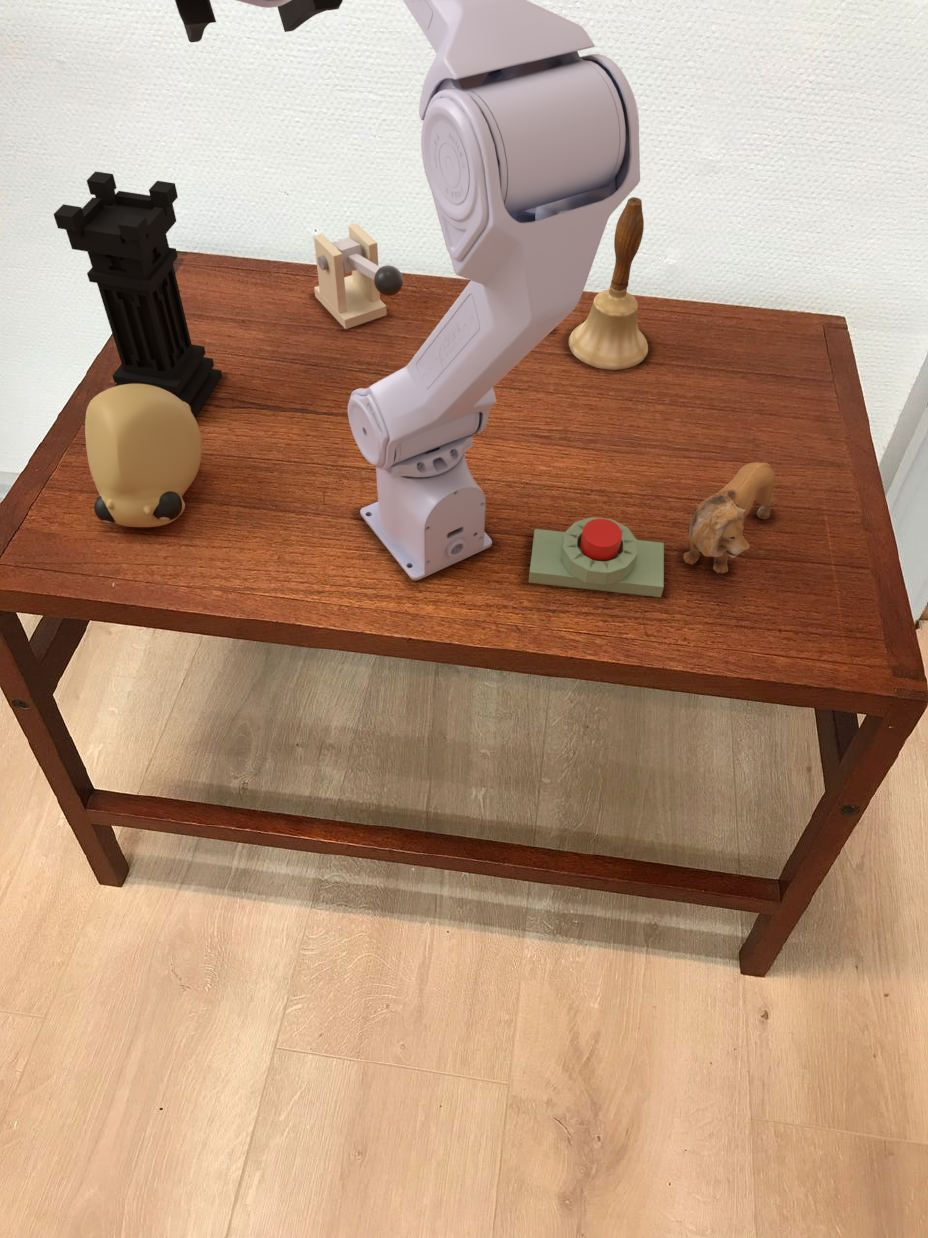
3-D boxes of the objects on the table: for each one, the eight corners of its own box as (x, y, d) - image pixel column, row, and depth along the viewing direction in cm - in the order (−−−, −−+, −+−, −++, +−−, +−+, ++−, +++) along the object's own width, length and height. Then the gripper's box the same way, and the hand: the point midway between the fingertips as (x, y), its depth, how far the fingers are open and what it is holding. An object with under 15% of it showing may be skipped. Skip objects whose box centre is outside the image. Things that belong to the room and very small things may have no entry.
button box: (661, 548, 84) (667, 524, 82) (660, 603, 80) (667, 579, 78) (533, 535, 85) (536, 510, 82) (527, 588, 81) (530, 563, 79)
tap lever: (409, 294, 95) (406, 266, 93) (384, 303, 94) (380, 274, 92) (354, 260, 103) (350, 234, 101) (331, 268, 102) (326, 241, 100)
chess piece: (111, 413, 94) (46, 215, 78) (147, 363, 98) (93, 168, 83) (189, 427, 93) (139, 230, 77) (222, 376, 97) (181, 181, 82)
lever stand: (391, 314, 105) (388, 246, 99) (341, 331, 103) (335, 263, 96) (359, 282, 108) (354, 215, 102) (310, 298, 106) (303, 231, 100)
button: (619, 535, 81) (622, 520, 80) (618, 563, 79) (621, 548, 78) (581, 530, 82) (583, 516, 80) (579, 558, 80) (581, 544, 78)
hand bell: (647, 325, 104) (676, 180, 92) (648, 373, 99) (679, 226, 87) (569, 319, 105) (587, 173, 92) (567, 367, 100) (585, 219, 87)
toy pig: (111, 520, 90) (57, 528, 79) (108, 386, 88) (52, 376, 77) (217, 524, 89) (176, 533, 79) (215, 389, 87) (174, 380, 77)
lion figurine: (724, 611, 80) (752, 536, 73) (663, 587, 81) (685, 510, 74) (778, 501, 88) (808, 423, 81) (722, 480, 90) (746, 402, 83)
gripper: (359, -155, 65) (310, -40, 78) (143, -145, 60) (127, -24, 73) (389, -43, 66) (336, 53, 79) (180, -24, 61) (158, 75, 74)
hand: (238, 23), depth 76 cm, fingers open, 7 cm apart
